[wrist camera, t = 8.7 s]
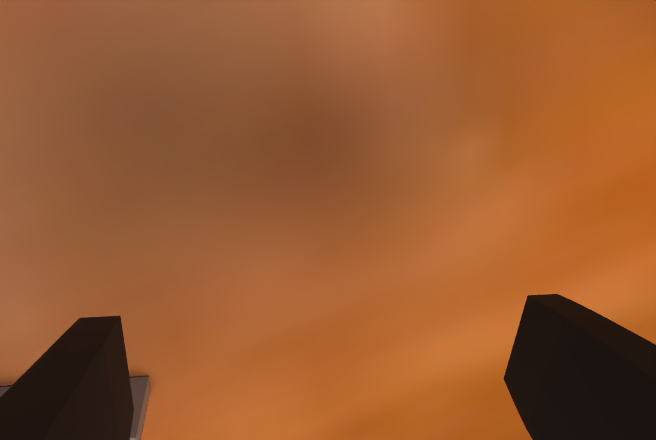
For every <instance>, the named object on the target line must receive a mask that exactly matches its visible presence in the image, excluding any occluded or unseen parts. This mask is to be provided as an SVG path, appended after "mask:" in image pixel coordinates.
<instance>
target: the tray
mask: <svg viewBox="0 0 656 440" xmlns="http://www.w3.org/2000/svg"><path fill="white" fill-rule="evenodd" d="M130 385H131V391H132V398H133V405H134V413H133V420H132V427H131V435H130V440H141V436H142V431H143V426H144V421H145V416H146V411H147V406H148V401H149V396H150V384H149V376H146V377H132V378H130ZM10 387H11V386H5V387H0V397H1V396H2V395H3V394H4V393H5V392H6V391H7V390H8V389H9V388H10Z"/></svg>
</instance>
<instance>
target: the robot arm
mask: <svg viewBox="0 0 656 440" xmlns="http://www.w3.org/2000/svg"><path fill="white" fill-rule="evenodd" d="M504 381H505V383H506V385H507V387H508V390H509V392H510V394H511V397H512V399H513V401H514V404H515V406H516V408H517V410H518V412H519V414H520V416H521V419H522V421H523V423H524V425H525V427H526V429H527V431H528V432H529V434H530V436H531V438H532V439H533V440H656V345H655V344H653V343H651V342H650V341H648V340H646V339H644V338H642V337H640V336H638V335H637V334H635V333H633V332H631V331H629V330H627V329H626V328H624V327H622V326H620V325H618V324H616V323H615V322H613V321H611V320H609V319H607V318H605V317H603V316H601V315H600V314H598V313H596V312H594V311H592V310H590V309H588V308H586V307H584V306H582V305H580V304H578V303H576V302H574V301H572V300H570V299H567V298H565V297H563V296H561V295H558V294H548V295H528V296H527V300H526V303H525V306H524V310H523V313H522V317H521V320H520V324H519V327H518V331H517V334H516V338H515V341H514V345H513V348H512V352H511V355H510V359H509V362H508V366H507V369H506V373H505V376H504ZM133 413H134V405H133V398H132V391H131V385H130V378H129V371H128V364H127V358H126V351H125V344H124V337H123V331H122V324H121V317H120V316H108V317H88V318H79V319H78V320H77V321H76V322H75V323H74V324H73V325H72V326H71V327H70V328H69V329H68V330H67V331H66V332H65V333H64V334H63V335H62V336H61V337H60V338H59V339H58V340H57V341H56V342H55V343H54V344H53V345H52V346H51V347H50V348H49V349H48V350H47V351H46V352H45V353H44V354H43V355H42V356H41V357H40V358H39V359H38V360H37V361H36V362H35V363H34V364H33V365H32V366H31V367H30V368H29V369H28V370H27V371H26V372H25V373H24V374H23V375H22V376H21V377H20V378H19V379H18V380H17V381H16V382H15V383H14V384H13V385H12V386H11V387H10V388H9V389H8V390H7V391H6V392H5V393H4V394H3V395H2V396H1V397H0V440H130V435H131V427H132V420H133Z"/></svg>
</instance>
